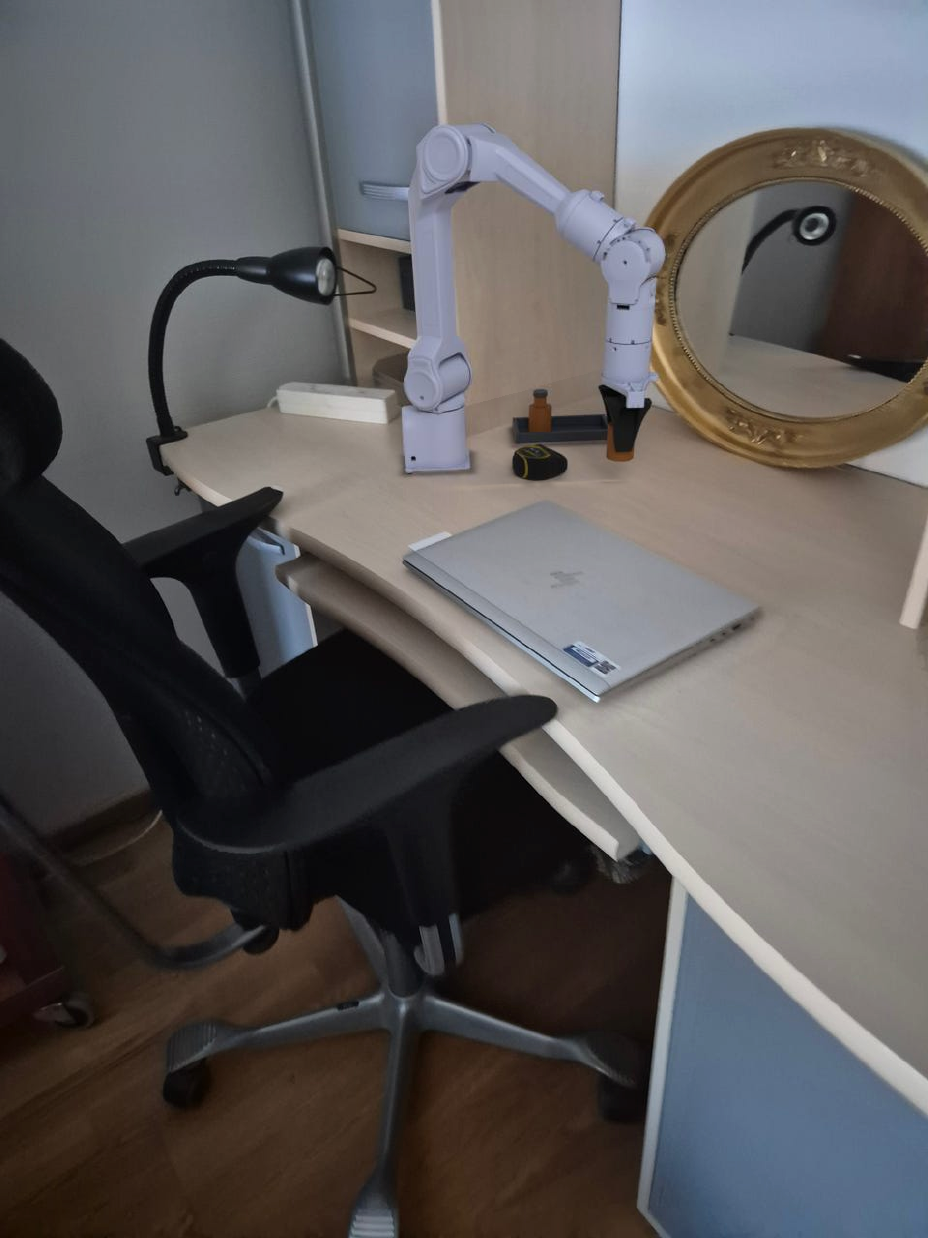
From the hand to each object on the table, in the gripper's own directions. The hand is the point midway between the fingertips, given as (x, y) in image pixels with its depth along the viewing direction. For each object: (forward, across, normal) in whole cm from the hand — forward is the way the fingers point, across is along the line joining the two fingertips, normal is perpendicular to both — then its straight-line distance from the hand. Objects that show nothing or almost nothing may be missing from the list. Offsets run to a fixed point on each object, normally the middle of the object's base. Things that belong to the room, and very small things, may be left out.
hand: (620, 445), depth 106 cm
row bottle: (+6, +24, +8) cm, 26 cm away
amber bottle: (+2, 0, 0) cm, 2 cm away
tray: (+7, +24, +5) cm, 25 cm away
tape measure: (+7, +8, +10) cm, 14 cm away
